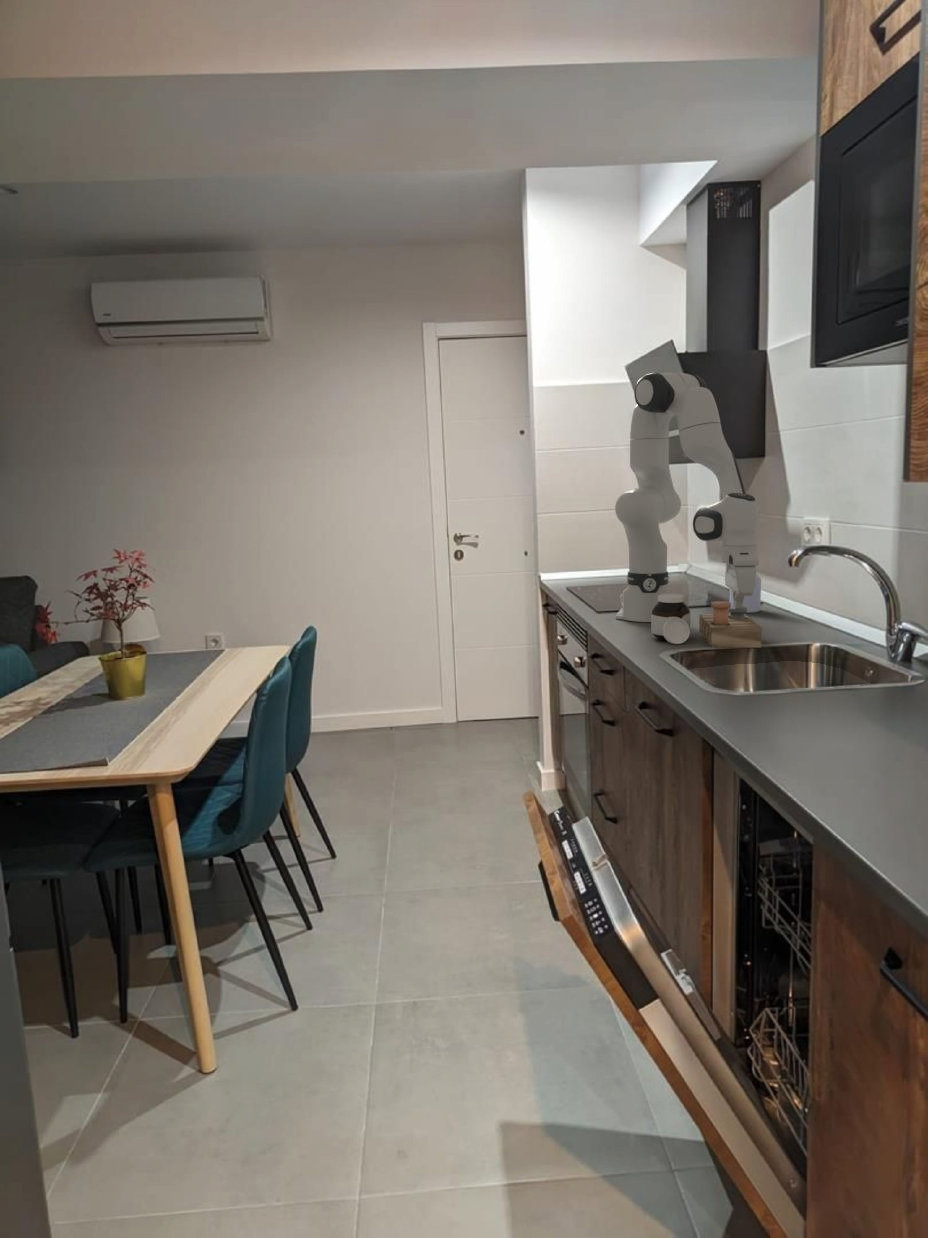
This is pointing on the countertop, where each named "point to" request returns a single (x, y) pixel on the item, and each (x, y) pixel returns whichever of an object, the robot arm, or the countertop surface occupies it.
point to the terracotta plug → (720, 613)
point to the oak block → (730, 632)
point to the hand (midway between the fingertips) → (737, 607)
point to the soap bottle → (751, 598)
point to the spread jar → (671, 619)
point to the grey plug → (737, 612)
